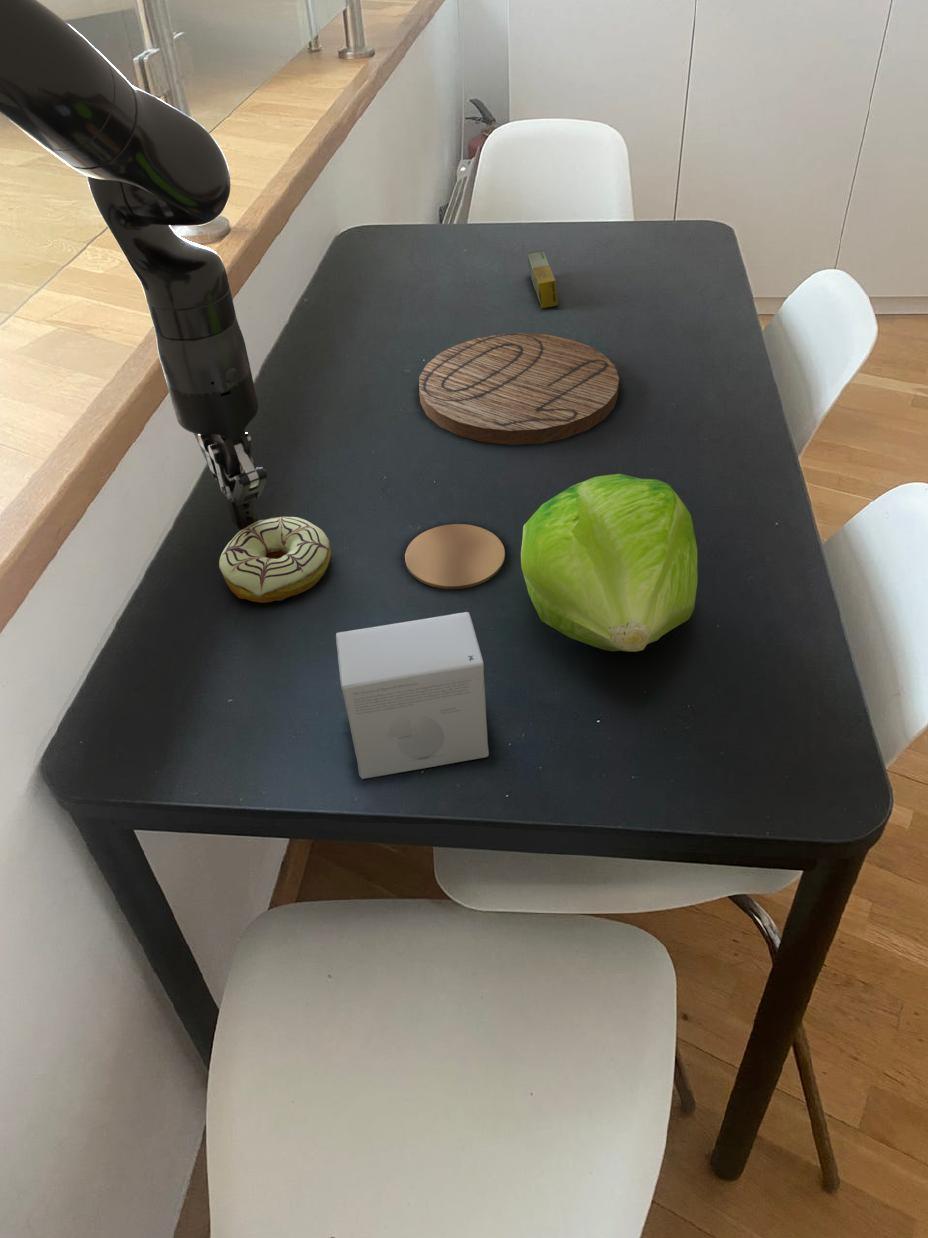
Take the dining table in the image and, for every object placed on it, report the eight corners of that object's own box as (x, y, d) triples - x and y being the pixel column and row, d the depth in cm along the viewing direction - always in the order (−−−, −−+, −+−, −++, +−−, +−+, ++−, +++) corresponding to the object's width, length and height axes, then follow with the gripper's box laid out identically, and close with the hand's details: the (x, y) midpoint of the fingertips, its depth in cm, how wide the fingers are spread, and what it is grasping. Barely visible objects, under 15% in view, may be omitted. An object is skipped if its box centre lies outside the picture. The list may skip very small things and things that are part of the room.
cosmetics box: (474, 699, 78) (469, 607, 71) (489, 758, 73) (486, 665, 66) (351, 720, 77) (334, 628, 70) (359, 781, 72) (341, 689, 65)
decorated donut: (204, 575, 92) (195, 545, 89) (291, 527, 97) (285, 498, 94) (264, 623, 86) (255, 593, 83) (353, 570, 91) (348, 540, 89)
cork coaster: (424, 600, 88) (424, 597, 87) (392, 541, 94) (392, 538, 94) (520, 573, 90) (520, 569, 90) (482, 517, 97) (482, 514, 97)
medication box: (529, 278, 142) (526, 252, 140) (546, 274, 142) (544, 248, 140) (540, 309, 133) (538, 282, 131) (559, 305, 133) (556, 278, 131)
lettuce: (551, 720, 76) (508, 584, 69) (545, 591, 93) (510, 471, 86) (731, 686, 73) (706, 540, 66) (692, 559, 90) (668, 431, 83)
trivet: (653, 375, 118) (655, 362, 116) (549, 467, 103) (549, 453, 102) (493, 330, 129) (493, 318, 128) (379, 407, 115) (377, 394, 113)
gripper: (141, 354, 85) (187, 506, 97) (196, 413, 77) (238, 571, 89) (217, 331, 88) (252, 481, 100) (277, 385, 80) (308, 542, 92)
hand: (246, 523), depth 94 cm, fingers closed
